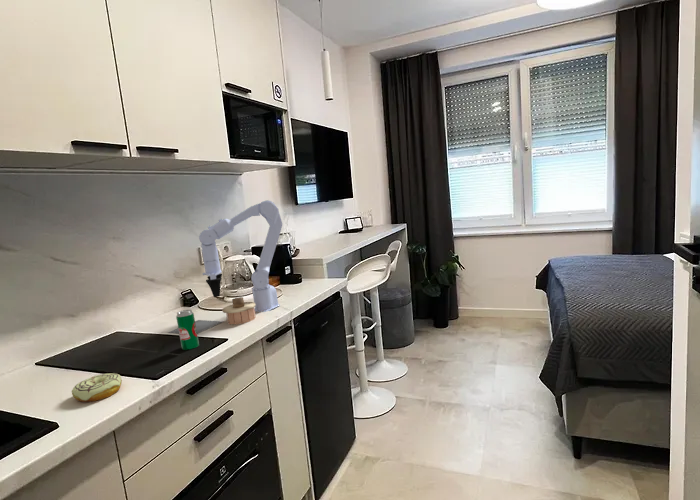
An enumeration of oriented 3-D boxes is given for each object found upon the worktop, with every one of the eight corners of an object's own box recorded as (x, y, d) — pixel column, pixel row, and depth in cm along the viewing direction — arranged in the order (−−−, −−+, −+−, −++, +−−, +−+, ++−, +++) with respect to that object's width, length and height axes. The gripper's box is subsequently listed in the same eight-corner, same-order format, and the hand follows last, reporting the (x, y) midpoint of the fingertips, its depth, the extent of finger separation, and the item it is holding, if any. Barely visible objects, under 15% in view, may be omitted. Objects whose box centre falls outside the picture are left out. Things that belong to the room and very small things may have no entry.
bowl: (241, 316, 156) (239, 303, 156) (261, 317, 152) (259, 304, 151) (222, 324, 148) (220, 311, 147) (242, 326, 143) (240, 312, 142)
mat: (198, 321, 157) (198, 319, 157) (224, 322, 150) (224, 321, 150) (167, 333, 145) (167, 332, 144) (194, 336, 138) (194, 334, 138)
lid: (239, 303, 157) (237, 294, 157) (262, 303, 151) (260, 294, 151) (215, 312, 147) (213, 302, 146) (239, 313, 141) (237, 303, 140)
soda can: (178, 350, 125) (171, 313, 123) (191, 344, 129) (185, 308, 127) (189, 352, 122) (183, 314, 121) (202, 345, 127) (196, 309, 125)
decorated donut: (83, 409, 93) (79, 394, 92) (68, 398, 100) (65, 384, 99) (130, 389, 101) (127, 375, 100) (113, 380, 107) (110, 367, 107)
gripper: (201, 260, 160) (207, 292, 162) (199, 264, 147) (205, 300, 148) (220, 257, 162) (225, 289, 164) (219, 261, 148) (225, 296, 150)
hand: (217, 294), depth 156 cm, fingers open, 7 cm apart
